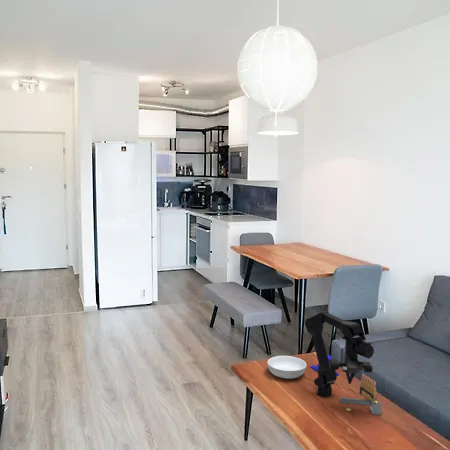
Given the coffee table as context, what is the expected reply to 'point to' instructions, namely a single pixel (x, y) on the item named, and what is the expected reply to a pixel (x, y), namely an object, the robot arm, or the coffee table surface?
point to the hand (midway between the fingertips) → (349, 383)
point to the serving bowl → (286, 366)
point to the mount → (318, 365)
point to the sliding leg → (375, 407)
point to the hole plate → (354, 402)
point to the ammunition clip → (368, 387)
